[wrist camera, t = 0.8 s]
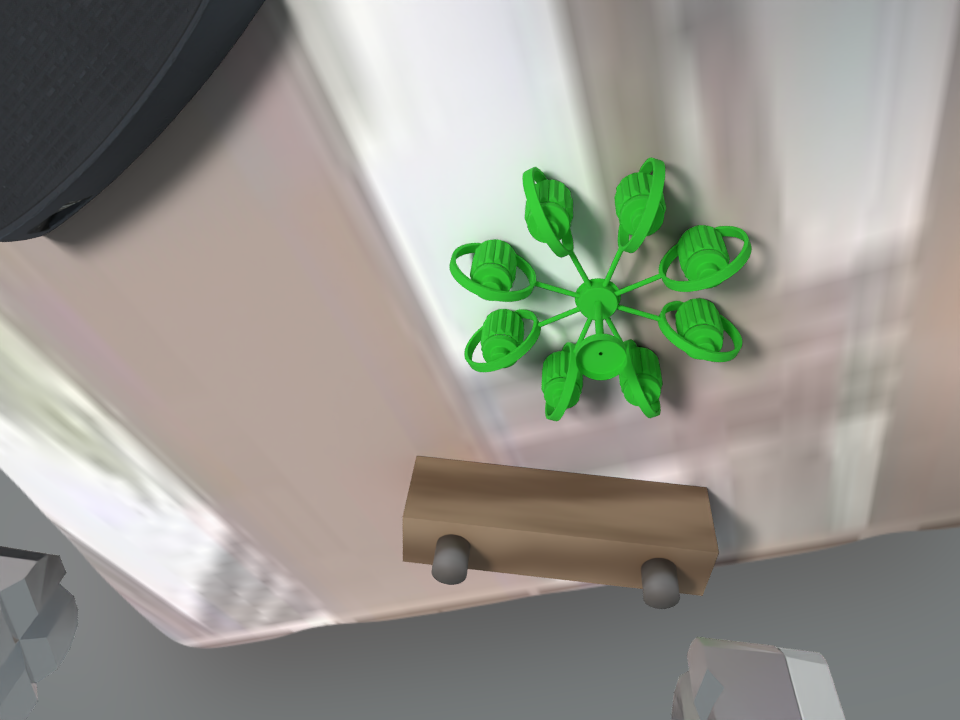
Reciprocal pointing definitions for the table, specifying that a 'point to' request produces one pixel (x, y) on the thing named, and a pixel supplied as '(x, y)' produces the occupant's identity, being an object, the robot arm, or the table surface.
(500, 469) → the walnut block
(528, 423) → the table surface
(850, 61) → the table surface
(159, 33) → the external hard drive
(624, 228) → the chandelier
